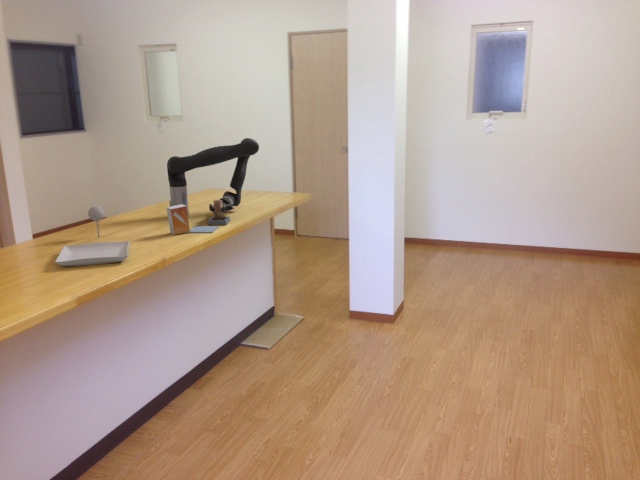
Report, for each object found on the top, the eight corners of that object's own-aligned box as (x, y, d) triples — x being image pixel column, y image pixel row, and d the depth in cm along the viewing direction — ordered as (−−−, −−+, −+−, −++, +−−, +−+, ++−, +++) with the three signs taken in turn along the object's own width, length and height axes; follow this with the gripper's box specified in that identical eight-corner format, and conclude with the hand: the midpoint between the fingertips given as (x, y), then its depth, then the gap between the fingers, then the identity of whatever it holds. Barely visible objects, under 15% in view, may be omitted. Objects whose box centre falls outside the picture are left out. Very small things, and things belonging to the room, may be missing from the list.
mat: (188, 232, 274) (188, 231, 274) (195, 227, 286) (195, 226, 286) (212, 233, 274) (212, 231, 273) (218, 227, 285) (218, 226, 285)
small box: (174, 235, 270) (170, 209, 266) (170, 232, 275) (165, 207, 271) (190, 231, 274) (186, 205, 270) (186, 229, 279) (181, 203, 275)
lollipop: (110, 235, 271) (106, 205, 267) (99, 239, 264) (96, 208, 261) (97, 234, 273) (94, 204, 269) (87, 238, 267) (83, 207, 263)
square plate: (129, 264, 225) (128, 255, 224) (55, 271, 218) (54, 261, 217) (131, 247, 250) (130, 239, 249) (64, 253, 243) (63, 244, 242)
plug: (213, 224, 293) (212, 201, 290) (216, 222, 297) (214, 199, 294) (222, 224, 293) (221, 201, 290) (224, 222, 297) (223, 199, 294)
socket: (208, 225, 291) (207, 220, 290) (212, 221, 300) (212, 216, 299) (226, 225, 290) (225, 220, 289) (230, 221, 299) (229, 216, 299)
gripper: (211, 197, 306) (203, 203, 290) (237, 197, 305) (230, 203, 289) (212, 210, 308) (204, 217, 292) (238, 210, 307) (231, 217, 291)
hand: (217, 210), depth 291 cm, fingers closed on plug, 4 cm apart
